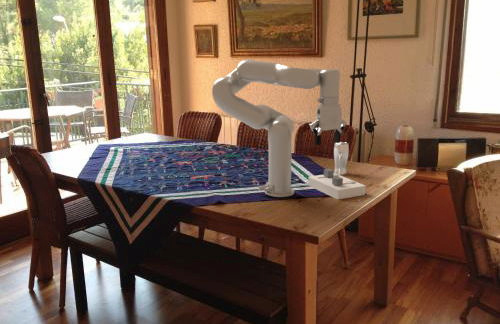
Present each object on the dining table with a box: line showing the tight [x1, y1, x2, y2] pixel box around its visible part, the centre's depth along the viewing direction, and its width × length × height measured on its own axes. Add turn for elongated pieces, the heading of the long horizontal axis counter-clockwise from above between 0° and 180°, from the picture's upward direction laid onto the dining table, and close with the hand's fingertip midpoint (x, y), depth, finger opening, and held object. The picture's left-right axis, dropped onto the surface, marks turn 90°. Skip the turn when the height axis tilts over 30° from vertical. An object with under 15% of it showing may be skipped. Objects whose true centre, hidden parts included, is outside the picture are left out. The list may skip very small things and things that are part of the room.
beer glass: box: [333, 141, 350, 176], centre depth 222 cm, size 7×7×15 cm
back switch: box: [323, 168, 335, 177], centre depth 204 cm, size 3×3×3 cm
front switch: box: [332, 177, 343, 186], centre depth 191 cm, size 3×3×3 cm
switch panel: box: [307, 173, 367, 200], centre depth 198 cm, size 14×22×4 cm, turn 26°
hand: (327, 143), depth 185 cm, fingers open, 9 cm apart
